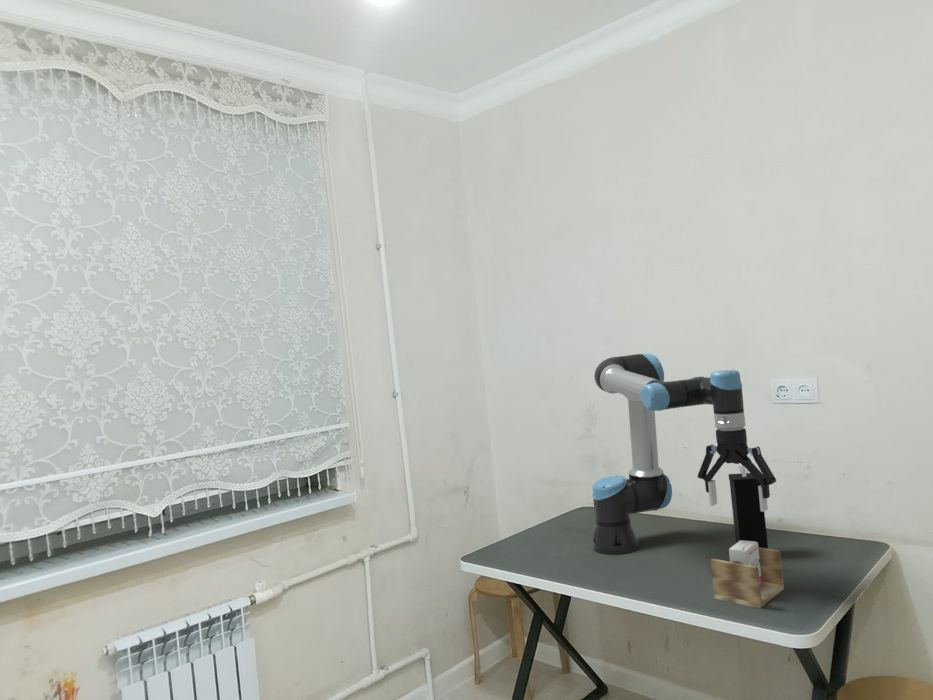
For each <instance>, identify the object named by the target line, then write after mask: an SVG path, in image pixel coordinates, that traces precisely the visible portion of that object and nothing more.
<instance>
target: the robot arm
mask: <svg viewBox="0 0 933 700" xmlns="http://www.w3.org/2000/svg"><path fill="white" fill-rule="evenodd" d="M709 376H710V377H707V376H706V377H704V376H693V377H690V378H688V379H686V378H685V379H682V380H681V379H679V380H673V381H671V380H670V381H665V372H664V368H663V366H662V363H661V361H660V360H659V358H658V357H657V356H655V355H654V354H651V353H637V354H635V353H634V354H629V355H623V356H621V355H620V356H611V357H609V358H606V359H603V360H602V361H601V362H599V364H598V366H597V367H596V368H595V370H594V381H595V384H596V386H597V387H598V388H599V389H600V390H601V391H603V392H605V393H608V394H620V395H623V396H624V397H625V398H626V399H627V404H628V407H627V408H628V418H629V421H628V422H629V430H630V431H629V433H630V444H631V445H630V446H631V447H630V449H631V459H632V467H631V468H630V469H629V471H628V478H626V476H624V475H614V476H613V475H611V476H605V477H602V478H600V479H598V480H596V481H595V482H594V483H593V484H592V499H593V508H594V509H593V510H594V517H595V519H594V520H595V529H594V534H593V539H592V549H593V550H594V551H595V552H597V553H601V554H605V555H622V554H623V555H624V554H628V553H632V552H635V551H637V550H638V549H639V539H638V537H637V536H636V532H635V530H634V528H633V526H632V522H631V515H634V514H639V513H646V512H651V511H653V512H655V511H658V510H661V509H665V508H667V506H669V504H670V503H671V500H672V497H673V487H672V483H671V480H670V477H668V476H667V475H666V474H664V470H663V469H661V467H660V466H659V455H658V441H657V440H658V439H657V437H658V436H657V427H656V425H657V424H656V412H655V411H658V412H661V411H664V410H671V409H678V408H685V407H692V406H693V407H694V406H701V405H711V406H712V408H713V415H714V417H713V418H714V426H715V428H716V430H715V438H716V439H715V440H716V444H717V445H716V446H715V445H714V444H709V445H707V446H706V447H705V455H704V458H703V461H702V464H701V465H700V468H699V471H698V473H697V478H698V479H701V480H703V481H704V485H705V492H706V493H708V495H709V497H708V498H709V505H710V506H711V507H712V506H716V505H717V504H718V495H717V487H716V486H717V485H716V480H715V479H714V477H715V475H717V473H718V471H720V469H721V468H722V466H723V465H724V464H725V463H726V464H734V465H740V464H741V466H744V467H745V468H746V469H747V470H748V471H747V472H748V473H751V474H752V475H753V476H754V478H755V479H756V480H757V481H758V482H759V483H760V484H761V485H760V486H758V490H759V501H760V511H761V512H764V513H765V512H766V511H768V499H769V498H770V496H771V494H770V493H771V492H770V485H773V484H775V483H776V482H777V479H776V477H775V475H774V474H773V472H772V470H771V469H770V467H769V465H768V464H767V462H766V460H765V459H764V457H763V454H762V451H761V447H760V446H755V447H749V446H748V437H747V429H746V428H745V427H746V417H745V410H744V409H745V407H744V397H743V384H742V381H741V373H740V372H739V371H738V370H735V369H733V370H732V369H731V370H728V369H724V370H723V369H722V370H717V371H716V370H715V371H712V372H711V373H710V375H709ZM716 453H717V454H718V455H719V457H718V458H717V459H716V462H714V464H713V466H712V467H711V468H710V466H711V463H712V460H713V458H714V456H715V454H716ZM749 454H750V456H752V457H753V460H754V462H755V464H757V465H755V464H754V463H753V462H752V460H751V458H750V457H749V456H748V455H749ZM757 467H758V468H757ZM709 468H710V470H709Z"/></svg>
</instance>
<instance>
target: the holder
mask: <svg viewBox="0 0 933 700" xmlns="http://www.w3.org/2000/svg"><path fill="white" fill-rule="evenodd" d="M758 548H759V558H760V568H761V578H762V585H761V586H760V580H759V571H758V566H752V565H746V564H740V563H734V562H730V560H729V561H728V560H722V559H717V558H711V559H710V560H709V561H710V569H711V579H712V588H713V589H712V590H713V598H714V599H716V600H718V601H719V600H720V601H724V602H725V601H726V602H729V603H733V604H738V605H742V606H748V607H752V608H757V609H762V608H763V607H764V606H765V605H767V603H769V602H770V601H771V600H772V599H773V598H775V597H776V596H777V595H778V594H780V593H781V592H782V591H783V590H785V583H784V572H783V564H782V552H781V550H779V549H772V548H768V549H767V548H761V547H758Z"/></svg>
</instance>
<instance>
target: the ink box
mask: <svg viewBox="0 0 933 700" xmlns="http://www.w3.org/2000/svg"><path fill="white" fill-rule="evenodd" d="M728 554H729V562H734V563H740V564H746V565H752V566H758V571H759V580H760V586H761V585H762V578H761V568H760V558H759V548H758V542H754V541H743V540H740V541H739V542H737V543H736V542H735V544H733V545H732V546H731V547H730V548H729V549H728Z"/></svg>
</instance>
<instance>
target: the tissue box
mask: <svg viewBox="0 0 933 700" xmlns="http://www.w3.org/2000/svg"><path fill="white" fill-rule="evenodd" d="M738 469H739V471H740V473H729V474H728V480H729V489H730V490H729V491H730V498H731V507H732V517H733V518H732V519H733V526H734V527H733V528H734V537H735V544H736V543H737V542H739V541H740V540H743V541H754V542H758V547H761V548H767V549H769V545H768V533H767V525H766V515H765V511H764V512H761V511H760V501H759V490H758V486H760V485H761V484H760V483H759V482H758V481H757V480H756V479H755V478H754V476H753V475H752V474H751V473H750V472H749V471H748V470H747V469H746V468H745V467H744V466H743V465H738Z"/></svg>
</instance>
